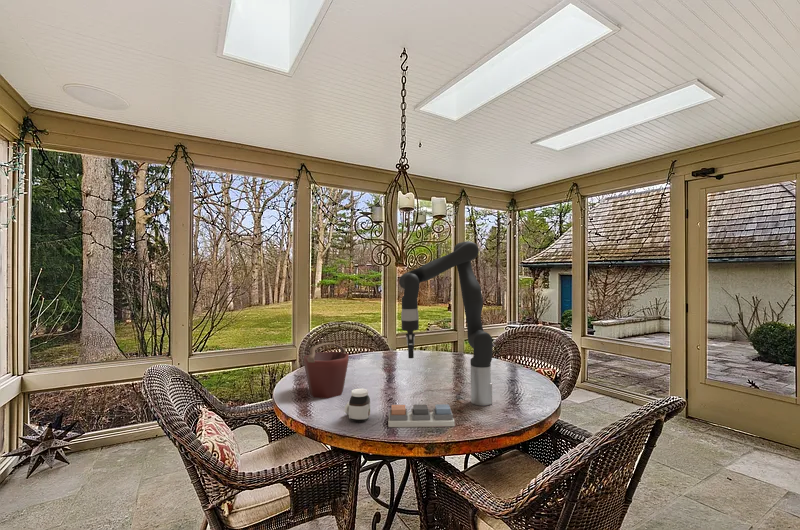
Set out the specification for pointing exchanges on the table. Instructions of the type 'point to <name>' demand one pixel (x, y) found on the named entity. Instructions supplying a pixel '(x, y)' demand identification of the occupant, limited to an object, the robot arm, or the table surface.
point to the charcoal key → (420, 409)
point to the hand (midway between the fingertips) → (410, 356)
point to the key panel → (420, 420)
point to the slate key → (442, 409)
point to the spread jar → (358, 406)
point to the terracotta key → (398, 410)
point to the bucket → (326, 371)
